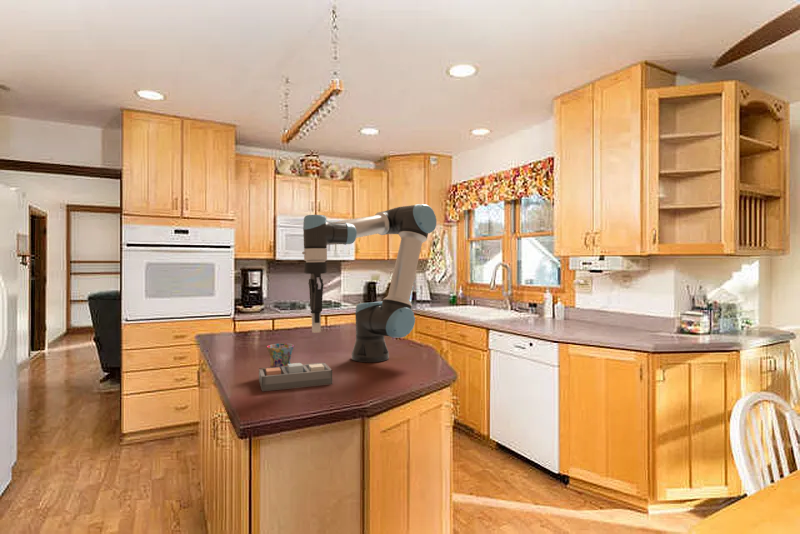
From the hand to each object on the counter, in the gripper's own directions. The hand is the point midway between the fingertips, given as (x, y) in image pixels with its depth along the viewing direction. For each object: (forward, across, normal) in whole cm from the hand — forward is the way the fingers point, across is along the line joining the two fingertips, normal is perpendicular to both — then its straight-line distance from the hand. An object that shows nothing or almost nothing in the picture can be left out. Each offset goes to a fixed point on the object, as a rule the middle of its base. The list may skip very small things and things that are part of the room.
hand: (316, 332), depth 153 cm
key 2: (+14, 0, 0) cm, 14 cm away
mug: (+17, -12, -10) cm, 23 cm away
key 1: (+14, 0, -14) cm, 20 cm away
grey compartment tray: (+16, 0, -7) cm, 18 cm away
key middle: (+13, 0, -7) cm, 15 cm away
